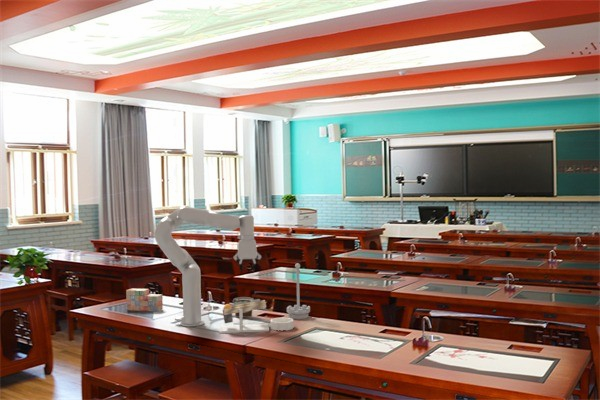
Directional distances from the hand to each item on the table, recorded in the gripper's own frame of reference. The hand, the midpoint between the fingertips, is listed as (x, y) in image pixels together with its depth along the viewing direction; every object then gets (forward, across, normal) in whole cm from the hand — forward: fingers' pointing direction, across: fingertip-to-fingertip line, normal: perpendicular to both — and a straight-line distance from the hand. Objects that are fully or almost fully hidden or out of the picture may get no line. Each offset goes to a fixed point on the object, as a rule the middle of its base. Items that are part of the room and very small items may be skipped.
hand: (247, 270), depth 319 cm
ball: (+16, -11, -18) cm, 26 cm away
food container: (+28, -2, +14) cm, 31 cm away
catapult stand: (+28, -3, -18) cm, 33 cm away
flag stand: (+28, +28, +6) cm, 40 cm away
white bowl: (+27, +17, -18) cm, 37 cm away
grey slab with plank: (+22, -1, -12) cm, 25 cm away
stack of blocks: (+28, -62, +40) cm, 79 cm away
